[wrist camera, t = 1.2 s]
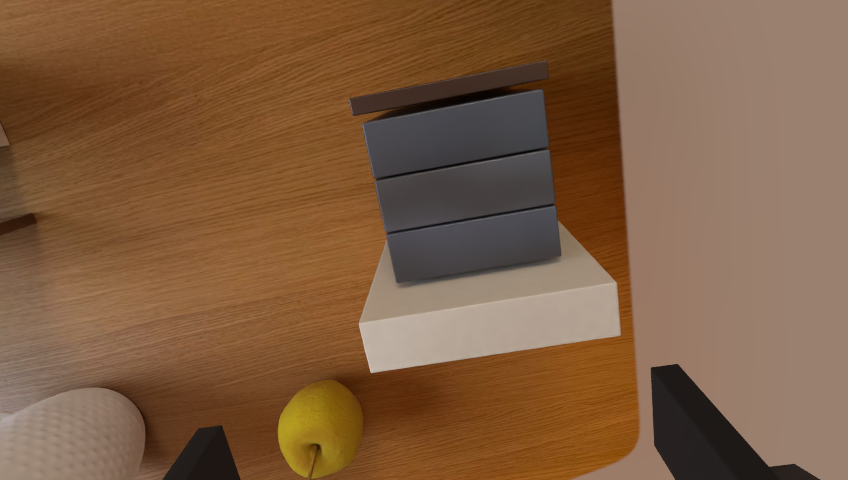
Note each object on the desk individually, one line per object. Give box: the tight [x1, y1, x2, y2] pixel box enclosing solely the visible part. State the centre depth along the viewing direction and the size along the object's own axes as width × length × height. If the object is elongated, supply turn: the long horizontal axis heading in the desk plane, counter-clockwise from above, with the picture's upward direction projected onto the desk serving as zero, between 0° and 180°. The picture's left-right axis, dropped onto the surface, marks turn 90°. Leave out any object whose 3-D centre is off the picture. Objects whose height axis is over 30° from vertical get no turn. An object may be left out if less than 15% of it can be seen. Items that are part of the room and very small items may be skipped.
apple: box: [278, 379, 364, 480], centre depth 37 cm, size 6×6×8 cm
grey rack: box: [349, 60, 562, 283], centre depth 29 cm, size 13×9×13 cm
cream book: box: [359, 221, 621, 373], centre depth 29 cm, size 2×11×16 cm, turn 101°
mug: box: [0, 387, 145, 480], centre depth 36 cm, size 15×11×13 cm
